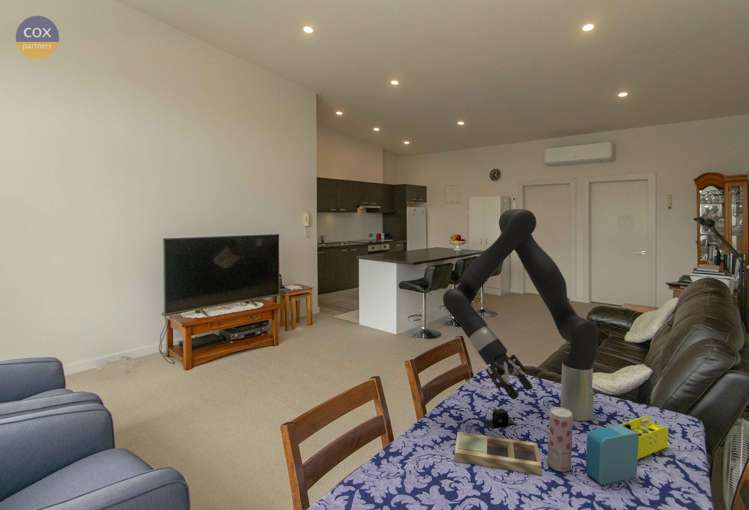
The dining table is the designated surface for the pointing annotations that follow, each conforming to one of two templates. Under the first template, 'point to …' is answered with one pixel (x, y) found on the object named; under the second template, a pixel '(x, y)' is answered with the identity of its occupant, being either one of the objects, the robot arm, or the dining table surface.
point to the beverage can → (560, 439)
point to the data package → (612, 454)
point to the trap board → (498, 453)
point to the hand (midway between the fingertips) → (523, 393)
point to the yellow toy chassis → (648, 435)
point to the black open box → (499, 419)
